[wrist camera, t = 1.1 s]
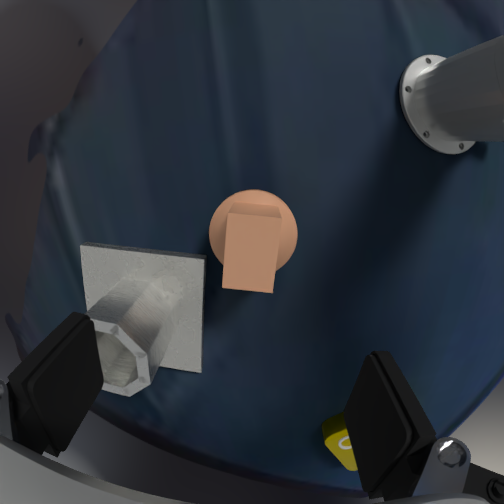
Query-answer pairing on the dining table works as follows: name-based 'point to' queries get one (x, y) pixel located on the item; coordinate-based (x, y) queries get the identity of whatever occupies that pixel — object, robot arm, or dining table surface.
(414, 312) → the dining table surface
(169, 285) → the hex socket plate
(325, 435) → the element tile
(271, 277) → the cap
